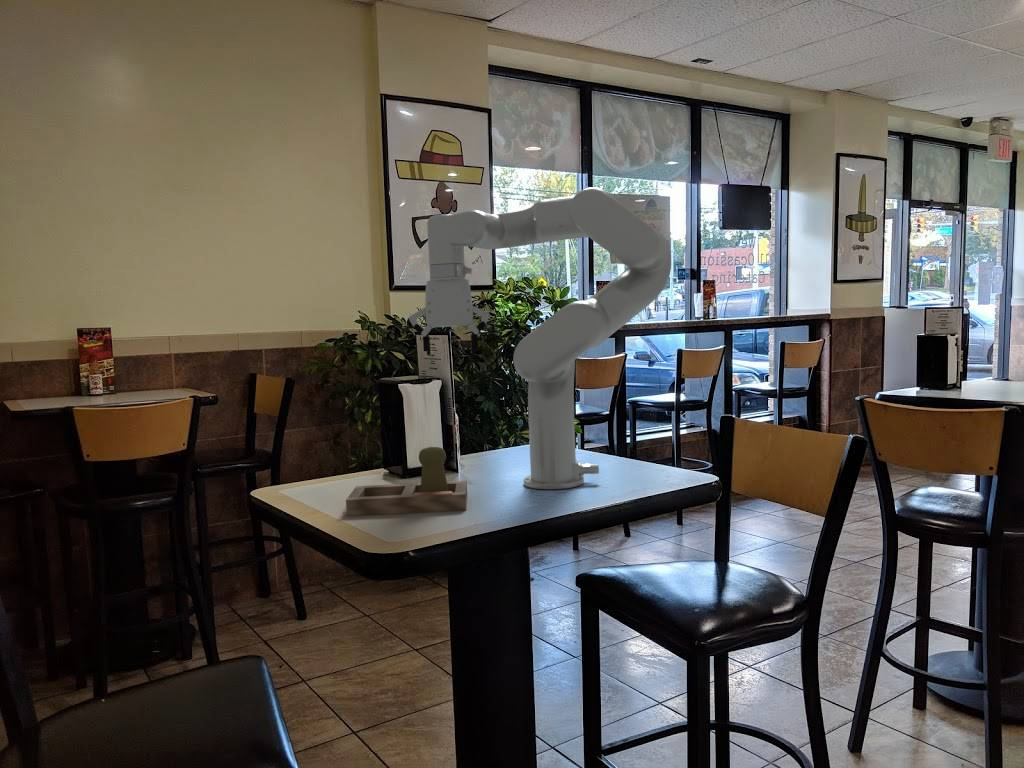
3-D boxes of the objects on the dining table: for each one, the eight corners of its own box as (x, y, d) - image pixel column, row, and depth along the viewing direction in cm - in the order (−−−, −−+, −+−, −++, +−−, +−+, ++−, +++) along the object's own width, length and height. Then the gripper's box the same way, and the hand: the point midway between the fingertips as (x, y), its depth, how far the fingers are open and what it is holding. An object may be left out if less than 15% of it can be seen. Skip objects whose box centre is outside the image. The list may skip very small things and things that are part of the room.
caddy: (467, 495, 159) (466, 479, 159) (466, 510, 147) (465, 492, 147) (357, 500, 159) (356, 484, 158) (346, 516, 147) (345, 498, 146)
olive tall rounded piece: (446, 507, 150) (443, 450, 149) (415, 508, 151) (412, 450, 150) (454, 500, 156) (451, 444, 155) (424, 500, 157) (421, 445, 156)
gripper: (486, 273, 174) (490, 351, 176) (407, 276, 173) (411, 354, 174) (488, 271, 167) (492, 352, 168) (405, 274, 166) (410, 356, 167)
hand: (451, 353), depth 171 cm, fingers open, 9 cm apart
